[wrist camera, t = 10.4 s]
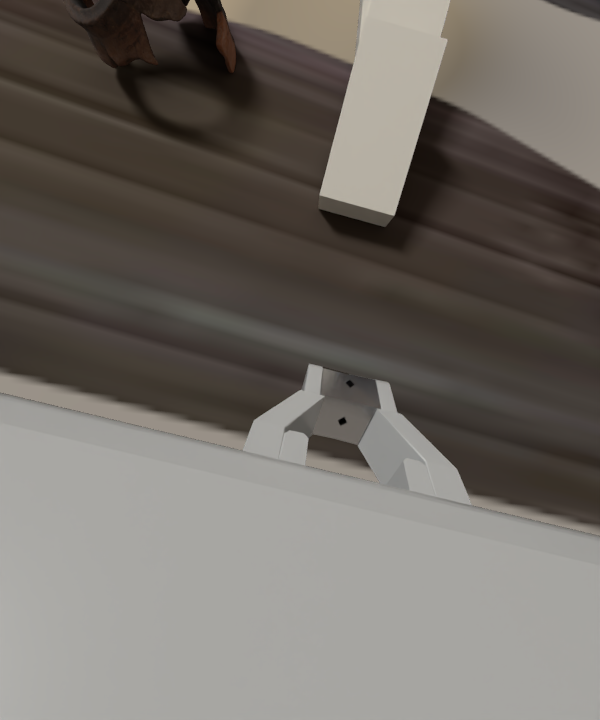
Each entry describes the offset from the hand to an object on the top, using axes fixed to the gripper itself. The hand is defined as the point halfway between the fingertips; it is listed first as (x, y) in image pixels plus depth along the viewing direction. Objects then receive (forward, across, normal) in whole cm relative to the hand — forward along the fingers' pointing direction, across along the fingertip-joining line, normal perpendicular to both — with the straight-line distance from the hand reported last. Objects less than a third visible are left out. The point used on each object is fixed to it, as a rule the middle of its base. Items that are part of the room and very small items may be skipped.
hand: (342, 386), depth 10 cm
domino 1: (+13, 0, -5) cm, 14 cm away
